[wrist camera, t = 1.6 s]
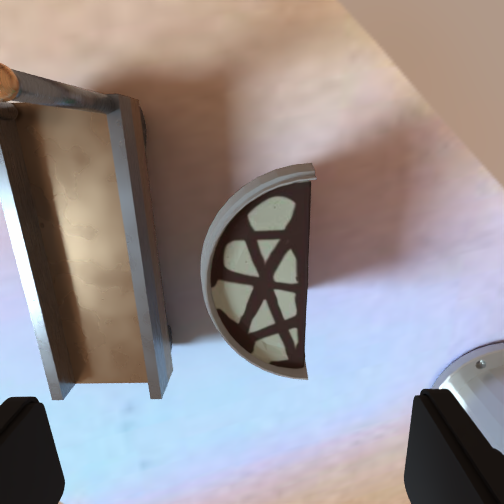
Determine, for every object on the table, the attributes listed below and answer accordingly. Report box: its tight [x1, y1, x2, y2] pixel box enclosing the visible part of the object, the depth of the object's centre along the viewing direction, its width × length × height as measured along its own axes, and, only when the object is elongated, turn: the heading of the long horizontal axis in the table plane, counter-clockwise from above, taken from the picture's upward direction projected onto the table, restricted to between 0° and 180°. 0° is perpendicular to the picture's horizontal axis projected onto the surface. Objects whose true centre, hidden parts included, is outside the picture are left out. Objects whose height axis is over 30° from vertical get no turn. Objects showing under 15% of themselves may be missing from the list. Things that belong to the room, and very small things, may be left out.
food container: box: [200, 163, 317, 380], centre depth 23 cm, size 12×6×10 cm, turn 1°
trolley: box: [0, 63, 173, 400], centre depth 21 cm, size 8×20×15 cm, turn 2°
